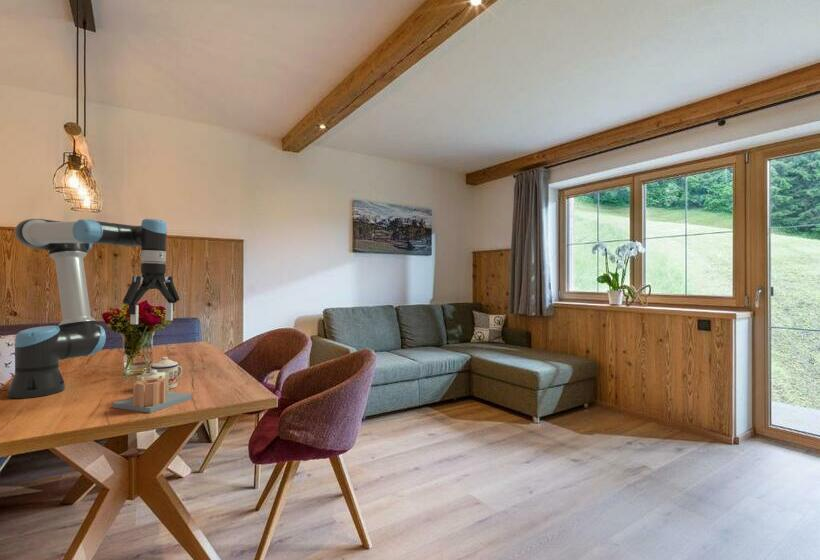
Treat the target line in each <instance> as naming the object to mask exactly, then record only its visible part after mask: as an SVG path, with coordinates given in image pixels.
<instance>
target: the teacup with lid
mask: <svg viewBox="0 0 820 560" xmlns="http://www.w3.org/2000/svg"><path fill="white" fill-rule="evenodd" d="M150 368H151V369H150V370H157V372H166V373H169V374H168V390H171V389H174V388H177V387H176V386H178V378H179V377H181V375H182V373H183V368H182V366H180V365H179V363H178V362H177V361H173V360H171V359H169V358H168V357H167V356H163V357H161V359H160V360H158V361H156V362H154V363H152V364H151V365H150Z"/></svg>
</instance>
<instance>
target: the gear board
mask: <svg viewBox="0 0 820 560" xmlns="http://www.w3.org/2000/svg"><path fill="white" fill-rule="evenodd" d="M168 374H169V373H166V372H157V370H151V369H150V370H149V372H148V373H146V372H143V373H141V375H137V376H136V381H141V380H143V379H154V378H159V379H166V400H165V403H160V404H157V405H156V406H145V407H140V406H133V396H132V397H128V398H125V399H121V400H117V401H114V402H112V408H114V409H119V410H120V409H121V410H128V411H134V412H140V413H141V412H142V413H147V414H152V413H155V412H158V411H160V409H161V410H163V408H164V409H166V408H169V407H172V406H175V405H177V404H181V403H183V402H187V401H189V400H192V399H193V394H192V393H184V392H176V391H169V389H168ZM154 411H155V412H154Z"/></svg>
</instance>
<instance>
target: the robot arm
mask: <svg viewBox="0 0 820 560" xmlns="http://www.w3.org/2000/svg"><path fill="white" fill-rule="evenodd" d="M167 234H168V231H167V222H166V221H165V220H162V219H157V218H156V219H154V218H153V219H152V218H144V219H143V220H142V221H141V224H140V225H133V224H132V225H131V224H123V223H115V222H108V221H107V222H105V221H100V220H94V219H78V220H77V221H59V220H53V219H52V220H51V219H45V218H29V219H25V220H22V221H20V222H19V223H18V224H17V225H16V226H15V229H14V236H15V237H16V240H17V241H18V242H19V243H21V244H22V245H23V246H25V247H27V248H31V249H34V250H40V251H41V250H42V251H48V255H49V256H48V257H49V258H51V259H52V260H54V262H55V272H56V277H57V284H58V285H57V286H58V293H59V301H60V302H59V303H60V310H61V317H62V321H60V323H58V325H45V326H37V327H30V328H27V329H23V330H21V331H19V332H17V333H16V335H15V341H14V344H13V345H14V375H13V377H12V380H11V382H10V384H9V387H8V389H7V398H10V399H29V398H39V397H43V396H44V397H46V396H50V395H53V394H57V393H60V392H62V391H64V390H65V389H66V383H65V380H64V378H63V376H62V373H61V371H60V366H59V365H60V361H61V360H68V359H74V358H75V359H76V358H81V357H87V356H91V355H96V354H98V353H99V352H101V350H102V349H103V347H104V345H105V344H106V339H107V335H106V330H105V329H104V327H103V326H102V325H99V324H97V323H98V322H97V320H96V319H95V318H94V317H92V316H91V315H92V314H91V309H90V307H91V306H90V301H89V300H90V299H89V293H88V286H87V279H86V272H85V271H86V270H85V263H84V258H86V257H87V255H88V253H89V252H90V251H91V249H92V248H93V244H99V245H100V244H102V245H114V246H123V247H126V248H127V247H130V248H134V247H141V249H140V261H141V262H142V263H140V273H141V276H139V275H133V276H132V278H131V282H130V283H131V284H130V285H129V287H128V289H127V292H126V294H125V295H124V297H123V299H122V303H123V304H125V305H126V306H128V315H130V317H129V319H130V325H139V309H140V307H139V304H138V302H139V301H140V300H141V299H142V298H143V296H144V295H145V294H146V293H147V291H149V290H154V289H155V290H158V291H159V292H160V293H161V294H162V296H163V297H164V299H165V300H166V302H165V321H173V319H174V318H173V317H174V311H175V304H176V303H177V302H179V301H180V297H179V294H178V292H177V289H176V287H175V284H174V281H173V277H172V276H167V275H166V276H165V274H166V271H167V266H166V261H167V258H166V257H167Z"/></svg>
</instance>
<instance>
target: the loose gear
mask: <svg viewBox="0 0 820 560" xmlns="http://www.w3.org/2000/svg"><path fill="white" fill-rule="evenodd" d="M132 397H133V406H140V407H145V406H156V405H157V404H160V403H165V400H166V379H159V378H154V379H143V380H141V381H137V380H135V381H134V382H133V384H132Z"/></svg>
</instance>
